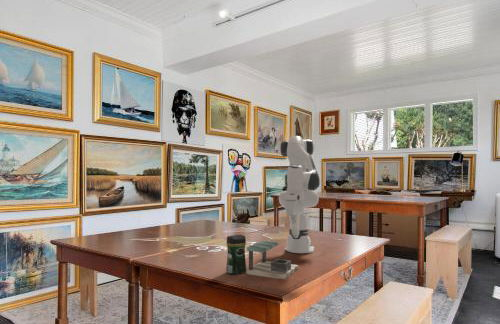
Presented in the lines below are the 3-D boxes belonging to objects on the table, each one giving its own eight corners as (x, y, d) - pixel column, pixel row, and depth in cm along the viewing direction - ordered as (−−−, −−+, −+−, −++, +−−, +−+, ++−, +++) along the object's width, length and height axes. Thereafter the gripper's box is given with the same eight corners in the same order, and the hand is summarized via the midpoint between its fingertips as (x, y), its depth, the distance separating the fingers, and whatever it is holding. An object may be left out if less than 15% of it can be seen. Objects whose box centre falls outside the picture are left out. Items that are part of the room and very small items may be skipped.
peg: (292, 233, 178) (292, 210, 178) (300, 233, 176) (300, 210, 177) (290, 234, 174) (290, 210, 175) (298, 234, 173) (298, 211, 173)
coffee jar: (239, 269, 176) (239, 233, 177) (248, 272, 170) (248, 235, 171) (223, 272, 171) (223, 234, 171) (232, 276, 164) (232, 237, 165)
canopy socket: (262, 264, 186) (262, 240, 186) (297, 269, 177) (298, 243, 178) (246, 273, 168) (247, 247, 168) (285, 279, 159) (285, 251, 160)
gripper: (295, 195, 187) (295, 220, 186) (283, 196, 168) (283, 224, 168) (306, 195, 184) (306, 221, 184) (295, 197, 166) (295, 225, 165)
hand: (295, 223), depth 175 cm, fingers closed on peg, 4 cm apart
